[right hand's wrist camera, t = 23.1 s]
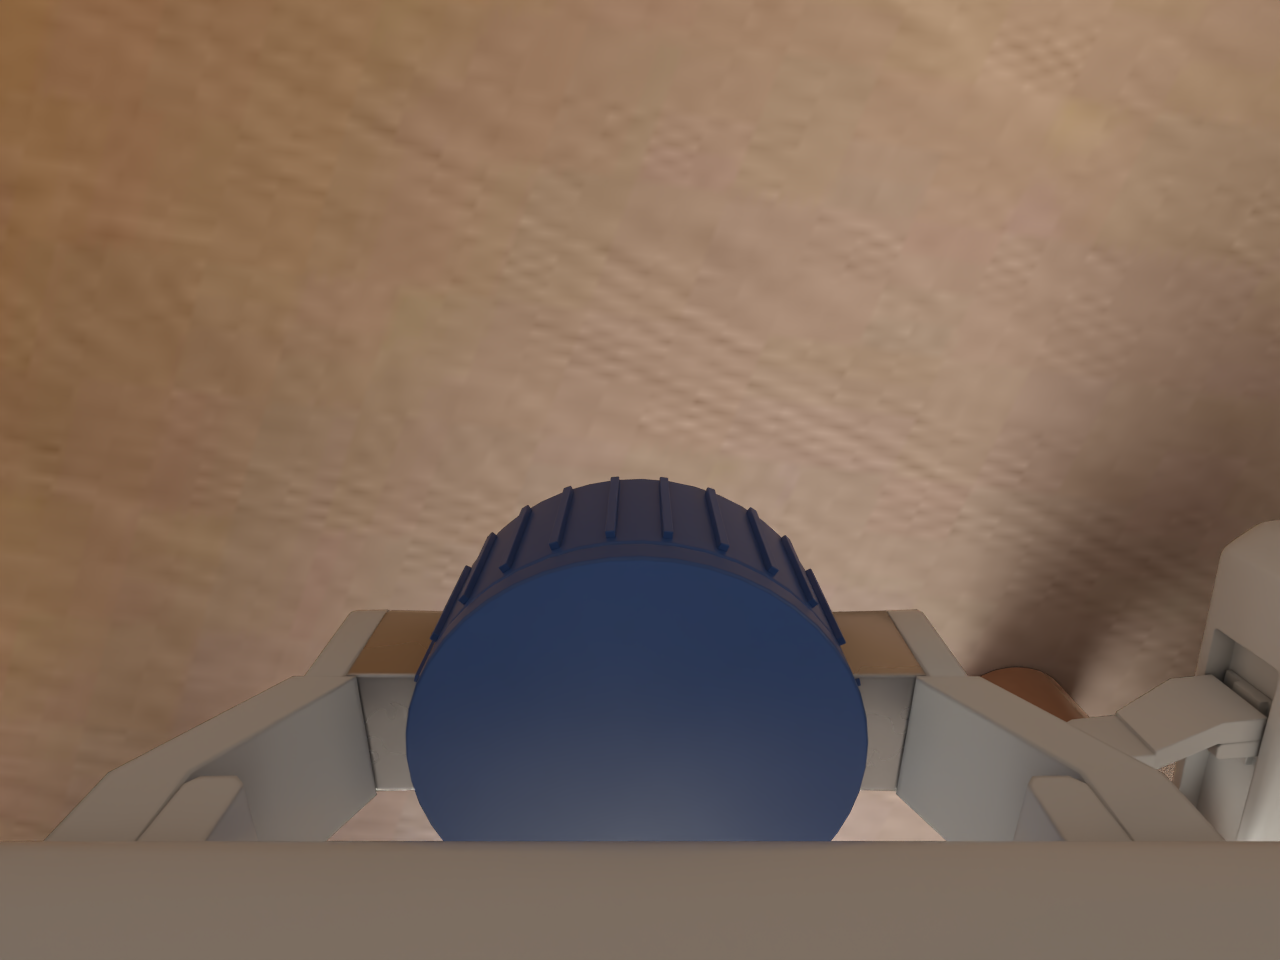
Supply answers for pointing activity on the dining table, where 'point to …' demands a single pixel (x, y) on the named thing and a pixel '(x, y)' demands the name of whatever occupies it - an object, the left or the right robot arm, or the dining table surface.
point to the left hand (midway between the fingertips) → (1061, 834)
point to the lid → (636, 680)
